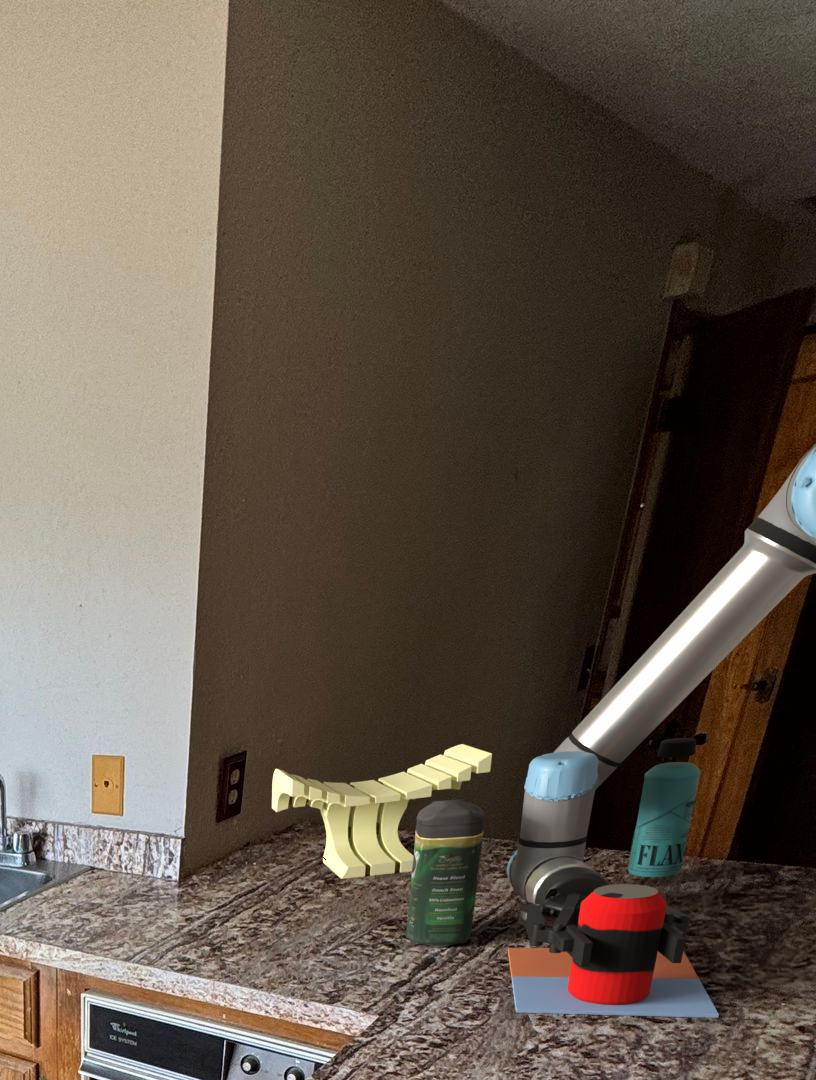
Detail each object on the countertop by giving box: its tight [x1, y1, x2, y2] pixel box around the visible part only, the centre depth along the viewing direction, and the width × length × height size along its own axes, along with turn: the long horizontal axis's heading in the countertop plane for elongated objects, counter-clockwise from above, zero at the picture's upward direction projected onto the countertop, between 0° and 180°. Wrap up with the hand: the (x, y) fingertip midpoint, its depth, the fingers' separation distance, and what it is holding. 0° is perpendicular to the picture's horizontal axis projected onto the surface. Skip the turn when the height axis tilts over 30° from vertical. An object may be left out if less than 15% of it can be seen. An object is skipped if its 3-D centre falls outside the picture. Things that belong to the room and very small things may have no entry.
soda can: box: [567, 883, 668, 1005], centre depth 111 cm, size 8×8×12 cm
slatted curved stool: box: [271, 743, 493, 880], centre depth 172 cm, size 30×16×18 cm, turn 81°
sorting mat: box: [507, 947, 720, 1019], centre depth 117 cm, size 18×22×1 cm
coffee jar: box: [406, 799, 485, 948], centre depth 135 cm, size 10×8×19 cm
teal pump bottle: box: [626, 737, 702, 878], centre depth 141 cm, size 6×7×20 cm
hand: (632, 952), depth 106 cm, fingers closed on soda can, 7 cm apart
